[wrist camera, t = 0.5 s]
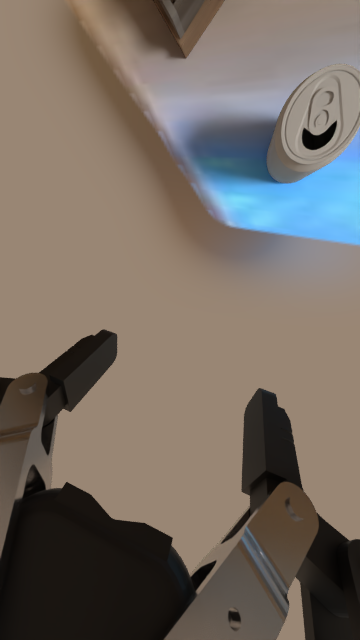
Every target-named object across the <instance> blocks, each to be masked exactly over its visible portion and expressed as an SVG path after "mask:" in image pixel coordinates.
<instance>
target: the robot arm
mask: <svg viewBox="0 0 360 640" xmlns="http://www.w3.org/2000/svg"><path fill="white" fill-rule="evenodd" d="M116 356H117V334H115V333H112V332H110V331H107V330H101V331H100V332H99V333H98V334H96V335H95V336H93V335H90V336H87V337H85V338H83V339H81V340H80V341H78V342H77V343H76V344H75V345H74V346H72V347H71V348H70V349H68V351H66V352H65V353H63V354H62V355H61V356H60V357H58V358H57V359H56V360H55V361H53V362H52V363H51V364H50V365H48V366H47V367H46V368H44V369H43V370H42V371H41V372H39V373H29V374H25V375H22V376H20V377H18V378H16V379H13V378H1V377H0V640H276V639H277V637H278V635H279V633H280V631H281V628H282V626H283V624H284V622H285V619H286V617H287V614H288V610H289V601H288V599H287V594H288V590H289V587H290V586H291V584H292V582H293V580H294V578H295V577H296V578H297V579H298V580H299V581H300V585H301V596H302V607H303V617H304V628H305V639H306V640H360V540H359V539H355V540H351V541H349V540H348V539H347V538H345V537H344V536H343V535H342V534H341V533H339V532H338V531H337V530H336V529H334V528H333V527H332V526H331V525H330V524H328V523H327V522H326V521H325V520H324V519H323V518H322V517H320V516H319V514H318V513H317V512H316V510H315V508H314V506H313V504H312V502H311V500H310V499H309V497H308V496H307V495H306V493H305V492H304V491H303V488H302V484H301V479H300V474H299V467H298V462H297V456H296V451H295V445H294V440H293V435H292V429H291V423H290V420H289V418H288V416H287V414H286V412H285V410H284V409H283V408H280V407H278V405H277V397H276V394H274V393H272V392H269V391H266V390H264V389H261V388H259V389H258V390H257V391H256V393H255V394H254V396H253V397H252V399H251V400H250V402H249V403H248V405H247V407H246V410H245V414H244V436H243V437H244V438H243V464H242V492H243V493H245V494H248V495H250V506H249V507H248V508H247V509H246V510H245V512H244V513H243V514H242V515H241V516H240V518H239V519H238V520H237V521H236V522H235V524H234V525H233V526H232V527H231V528H230V530H229V531H228V532H227V533H226V535H225V536H224V537H223V538H222V539H221V541H220V542H219V543H218V544H217V545H216V546H215V547H214V548H213V549H212V550H211V551H210V552H209V553H208V554H207V555H206V556H205V557H204V558H203V560H202V561H201V562H200V563H199V564H198V565H197V567H196V568H195V569H194V570H193V571H192V573H191V574H190V575H189V573H188V570H187V568H186V566H185V564H184V562H183V560H182V559H181V557H180V556H179V554H178V553H177V552H176V550H175V549H174V548H173V547H172V546H171V543H172V539H173V538H172V537H170V536H168V535H166V534H165V533H163V532H161V531H159V530H157V529H155V528H153V527H151V526H149V525H147V524H145V523H138V522H130V521H122V520H115V519H112V518H111V517H110V516H109V515H108V514H107V513H106V512H105V510H104V509H103V508H102V507H101V506H100V505H99V503H98V502H97V501H96V500H95V499H94V498H93V497H92V495H90V494H89V493H87V492H85V491H83V490H81V489H79V488H77V487H75V486H73V485H71V484H69V483H68V482H66V483H65V485H64V487H63V488H54V489H51V482H52V453H53V446H54V439H55V432H56V426H57V419H58V414H59V412H60V411H61V410H62V409H65V410H68V411H70V412H71V411H72V410H73V409H74V407H75V406H76V405H77V404H78V403H79V402H80V401H81V399H82V398H83V397H84V396H85V395H86V394H87V392H88V391H89V390H90V389H91V388H92V387H93V386H94V384H95V383H96V382H97V381H98V380H99V379H100V377H101V376H102V375H103V374H104V373H105V372H106V370H107V369H108V368H109V367H110V366H111V365H112V363H113V362H114V361H115V359H116Z"/></svg>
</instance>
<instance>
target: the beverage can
mask: <svg viewBox="0 0 360 640" xmlns="http://www.w3.org/2000/svg"><path fill="white" fill-rule="evenodd" d="M359 127H360V72H359V70H357V69H356V68H354V67H353V66H350V65H347V64H335V65H330V66H328V67H325V68H323V69H321V70H319V71H318V72H316V73H314V74H312V75H311V76H309V77H308V78H307V79H305V80H304V81H303V82H302V83H301V84H300V85H299V86H298V87H297V88H296V89H295V90H294V91H293V92H292V94H291V95H290V96H289V98H288V99H287V101H286V103H285V104H284V106H283V108H282V110H281V112H280V115H279V117H278V121H277V124H276V127H275V130H274V133H273V136H272V139H271V142H270V145H269V149H268V152H267V168H268V171H269V173H270V175H271V177H272V178H273V179H275V180H276V181H278V182H280V183H293V182H297V181H299V180H301V179H303V178H304V177H306V176H308V175H310V174H312V173H313V172H315V171H317V170H319V169H320V168H322V167H324V166H326V165H327V164H329V163H330V162H332V161H333V160H334V159H336V158H337V157H338V156H339V155H340V154H341V153H342V152H343V151H344V150H345V149H346V148H347V147H348V145H349V144H350V143H351V141H352V140H353V138H354V137H355V135H356V133H357V131H358V129H359Z"/></svg>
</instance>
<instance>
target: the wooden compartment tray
mask: <svg viewBox="0 0 360 640" xmlns="http://www.w3.org/2000/svg"><path fill="white" fill-rule="evenodd" d="M153 1H154V3H155V4H156V6H157V8H158V10H159V11H160V13H161V15H162V17H163V18H164V20H165V22H166V24H167V26H168V27H169V29H170V31H171V33H172V34H173V36H174V38H175V40H176V41H177V43H178V45H179V47H180V48H181V50H182V52H183V54H184V55H185V57H186V58H187V56H188V55H189V53H190V52H191V50H192V49H193V47H194V46H195V44H196V43H197V41H198V40H199V38H200V37H201V35H202V34H203V32H204V31H205V29H206V28H207V26H208V25H209V23H210V22H211V20H212V19H213V17H214V16H215V14H216V13H217V11H218V10H219V8H220V7H221V5H222V4H223V2H224V1H225V0H153Z"/></svg>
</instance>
